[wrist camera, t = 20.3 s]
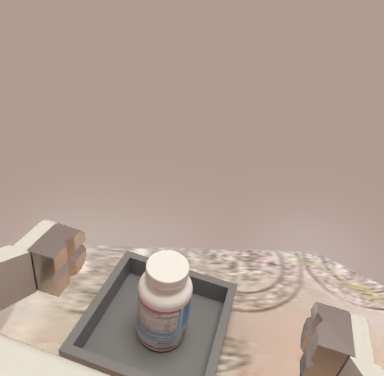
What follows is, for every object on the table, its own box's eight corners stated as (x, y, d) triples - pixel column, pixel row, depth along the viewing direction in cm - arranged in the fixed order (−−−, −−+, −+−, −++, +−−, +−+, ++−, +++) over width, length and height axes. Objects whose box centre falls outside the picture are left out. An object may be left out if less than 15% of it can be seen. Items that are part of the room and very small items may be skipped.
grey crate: (231, 304, 48) (237, 284, 46) (201, 425, 35) (207, 406, 33) (126, 270, 51) (126, 250, 49) (61, 371, 38) (58, 350, 36)
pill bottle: (163, 301, 46) (170, 237, 40) (195, 333, 43) (208, 268, 37) (125, 328, 42) (126, 261, 36) (158, 364, 39) (165, 298, 33)
